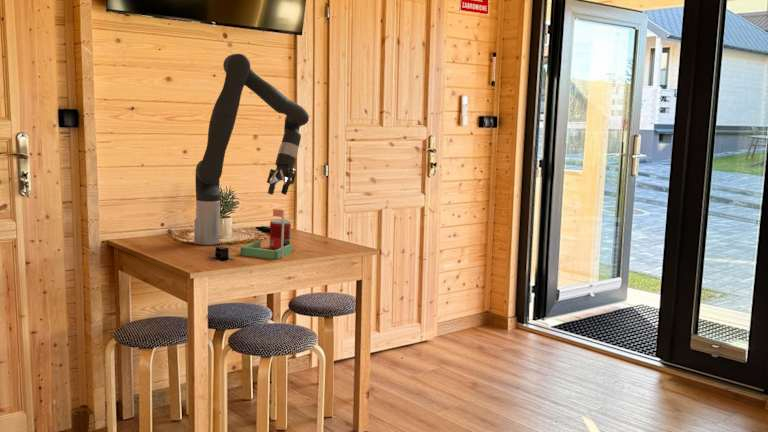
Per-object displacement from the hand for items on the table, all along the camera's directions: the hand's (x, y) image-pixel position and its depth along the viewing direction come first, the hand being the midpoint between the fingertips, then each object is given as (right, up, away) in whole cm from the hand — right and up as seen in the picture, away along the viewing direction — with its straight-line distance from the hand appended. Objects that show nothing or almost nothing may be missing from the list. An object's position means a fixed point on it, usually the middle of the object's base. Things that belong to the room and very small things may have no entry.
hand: (276, 194), depth 282 cm
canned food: (+1, -22, -2) cm, 22 cm away
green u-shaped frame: (-2, -23, -13) cm, 26 cm away
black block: (-16, -25, -25) cm, 38 cm away
